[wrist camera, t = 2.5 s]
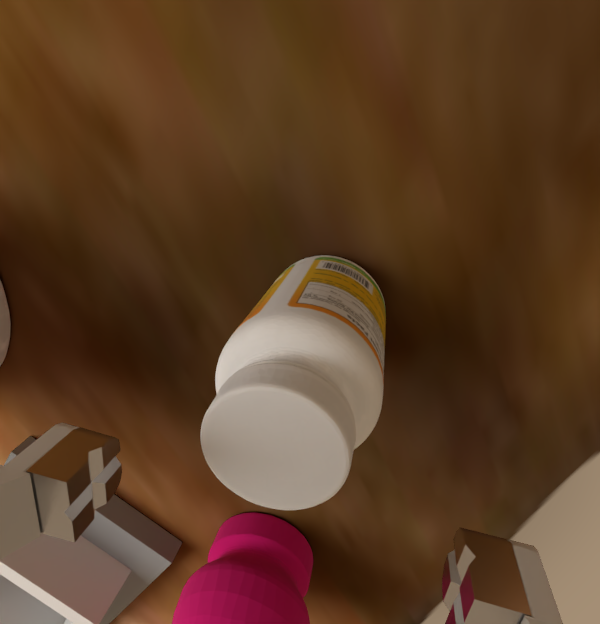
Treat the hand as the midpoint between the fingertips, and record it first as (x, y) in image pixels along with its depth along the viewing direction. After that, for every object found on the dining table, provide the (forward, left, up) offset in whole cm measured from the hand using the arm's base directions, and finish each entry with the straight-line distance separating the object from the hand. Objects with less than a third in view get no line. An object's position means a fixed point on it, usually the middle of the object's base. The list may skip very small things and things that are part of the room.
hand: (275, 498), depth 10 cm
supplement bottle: (-1, 0, -11) cm, 11 cm away
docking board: (-4, -27, -11) cm, 29 cm away
